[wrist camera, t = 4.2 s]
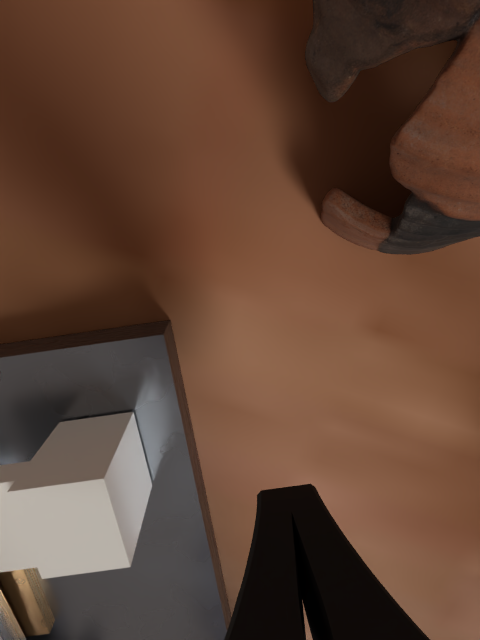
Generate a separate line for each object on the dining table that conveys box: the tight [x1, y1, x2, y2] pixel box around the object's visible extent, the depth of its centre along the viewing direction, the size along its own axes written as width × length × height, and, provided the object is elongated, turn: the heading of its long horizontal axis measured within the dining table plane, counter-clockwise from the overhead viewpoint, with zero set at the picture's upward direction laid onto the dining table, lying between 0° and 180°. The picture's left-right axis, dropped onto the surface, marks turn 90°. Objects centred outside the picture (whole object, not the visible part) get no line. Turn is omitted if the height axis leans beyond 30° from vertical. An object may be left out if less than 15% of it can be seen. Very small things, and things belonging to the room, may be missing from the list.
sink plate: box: [0, 320, 231, 640], centre depth 14 cm, size 17×14×4 cm
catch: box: [0, 412, 152, 579], centre depth 12 cm, size 3×6×3 cm, turn 98°
